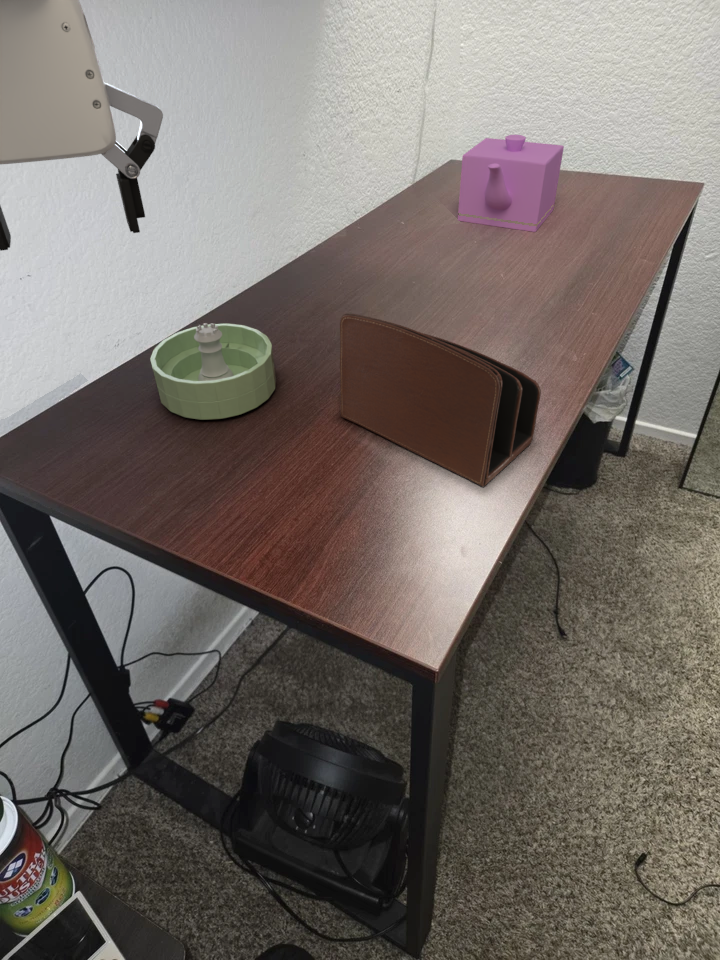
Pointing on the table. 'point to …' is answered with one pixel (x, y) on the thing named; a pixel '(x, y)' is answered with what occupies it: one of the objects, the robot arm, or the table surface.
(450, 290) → the table surface
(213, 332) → the rook chess piece
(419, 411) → the letter holder
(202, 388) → the bowl
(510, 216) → the teapot
